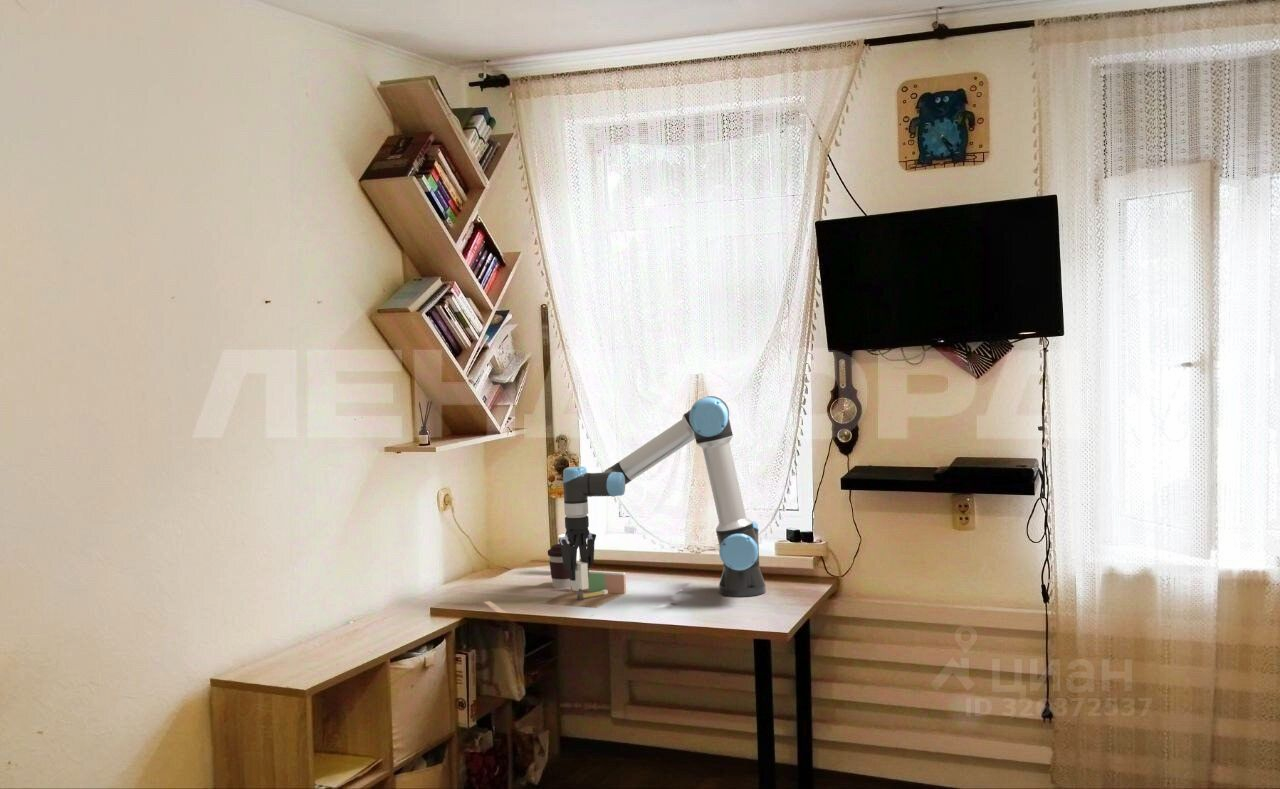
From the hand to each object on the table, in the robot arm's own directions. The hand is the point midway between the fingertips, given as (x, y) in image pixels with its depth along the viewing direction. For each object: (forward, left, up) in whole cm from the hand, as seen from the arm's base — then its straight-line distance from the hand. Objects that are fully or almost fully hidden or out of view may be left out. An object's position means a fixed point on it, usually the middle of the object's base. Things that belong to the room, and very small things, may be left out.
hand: (579, 589), depth 323 cm
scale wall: (0, -12, -3) cm, 13 cm away
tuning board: (0, -2, -5) cm, 5 cm away
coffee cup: (+16, -17, -5) cm, 24 cm away
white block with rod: (-2, -4, -3) cm, 6 cm away
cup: (+26, -39, -5) cm, 47 cm away
